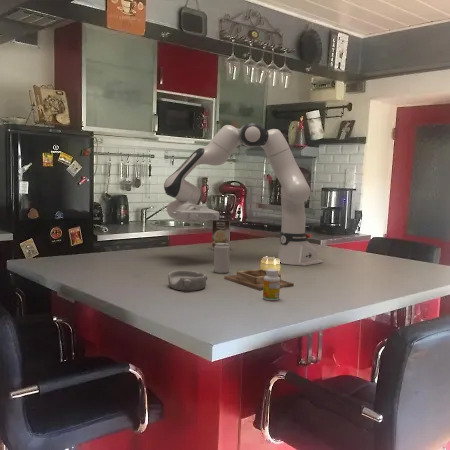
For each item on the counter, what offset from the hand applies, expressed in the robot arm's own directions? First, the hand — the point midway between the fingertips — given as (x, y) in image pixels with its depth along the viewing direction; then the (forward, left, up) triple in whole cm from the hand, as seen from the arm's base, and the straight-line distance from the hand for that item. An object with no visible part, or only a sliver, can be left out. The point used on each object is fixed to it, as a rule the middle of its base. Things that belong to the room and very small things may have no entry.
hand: (207, 217), depth 217 cm
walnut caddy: (-2, +34, -22) cm, 40 cm away
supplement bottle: (+10, +56, -22) cm, 61 cm away
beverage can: (0, +12, -22) cm, 25 cm away
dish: (+26, +29, -22) cm, 44 cm away
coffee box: (-34, -39, -22) cm, 57 cm away
